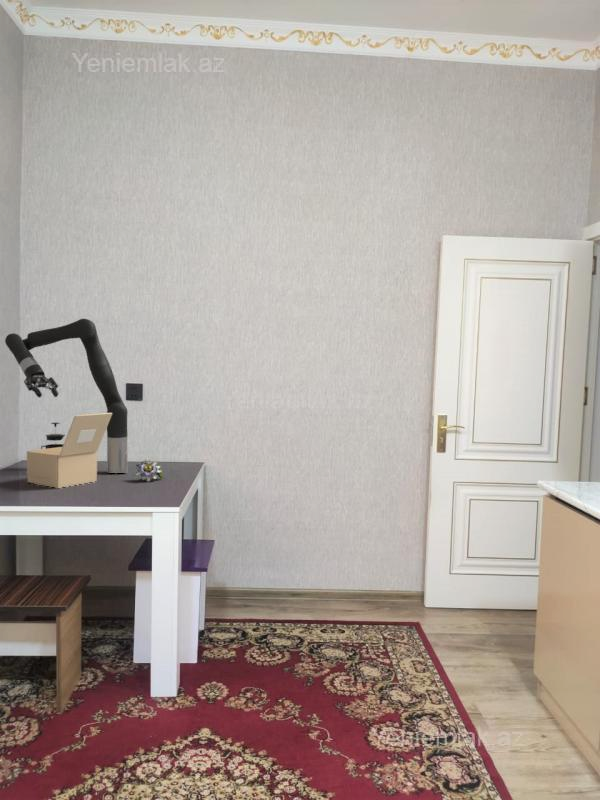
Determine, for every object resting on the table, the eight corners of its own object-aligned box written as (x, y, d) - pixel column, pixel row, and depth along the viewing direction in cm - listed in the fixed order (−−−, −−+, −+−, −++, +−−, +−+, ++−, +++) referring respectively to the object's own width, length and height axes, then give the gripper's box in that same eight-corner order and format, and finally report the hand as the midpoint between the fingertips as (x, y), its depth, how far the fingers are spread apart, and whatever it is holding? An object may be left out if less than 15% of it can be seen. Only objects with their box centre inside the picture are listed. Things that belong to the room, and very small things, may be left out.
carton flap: (74, 415, 262) (76, 416, 262) (111, 412, 278) (112, 413, 278) (59, 455, 268) (60, 456, 267) (96, 450, 284) (97, 451, 284)
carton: (25, 483, 278) (25, 451, 278) (66, 476, 297) (66, 446, 296) (57, 489, 268) (57, 455, 267) (97, 481, 286) (97, 450, 285)
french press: (67, 467, 322) (67, 421, 321) (66, 470, 313) (66, 423, 312) (42, 468, 319) (41, 421, 318) (40, 471, 310) (40, 423, 309)
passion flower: (148, 494, 288) (133, 473, 283) (142, 485, 297) (128, 465, 292) (169, 479, 291) (155, 458, 286) (163, 470, 300) (149, 451, 295)
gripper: (21, 363, 285) (39, 390, 280) (49, 364, 297) (66, 389, 292) (14, 375, 288) (31, 402, 283) (41, 375, 300) (58, 401, 295)
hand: (48, 396), depth 287 cm, fingers open, 8 cm apart
